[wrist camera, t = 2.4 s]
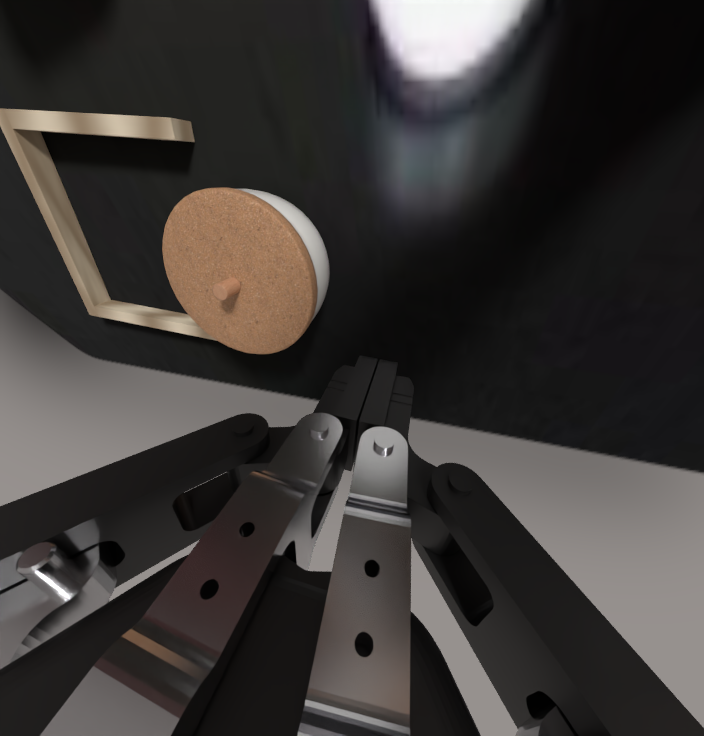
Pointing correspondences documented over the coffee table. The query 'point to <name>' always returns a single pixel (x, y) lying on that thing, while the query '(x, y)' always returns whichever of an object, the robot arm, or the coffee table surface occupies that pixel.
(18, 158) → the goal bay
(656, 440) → the coffee table surface
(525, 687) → the robot arm
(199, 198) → the lidded jar
